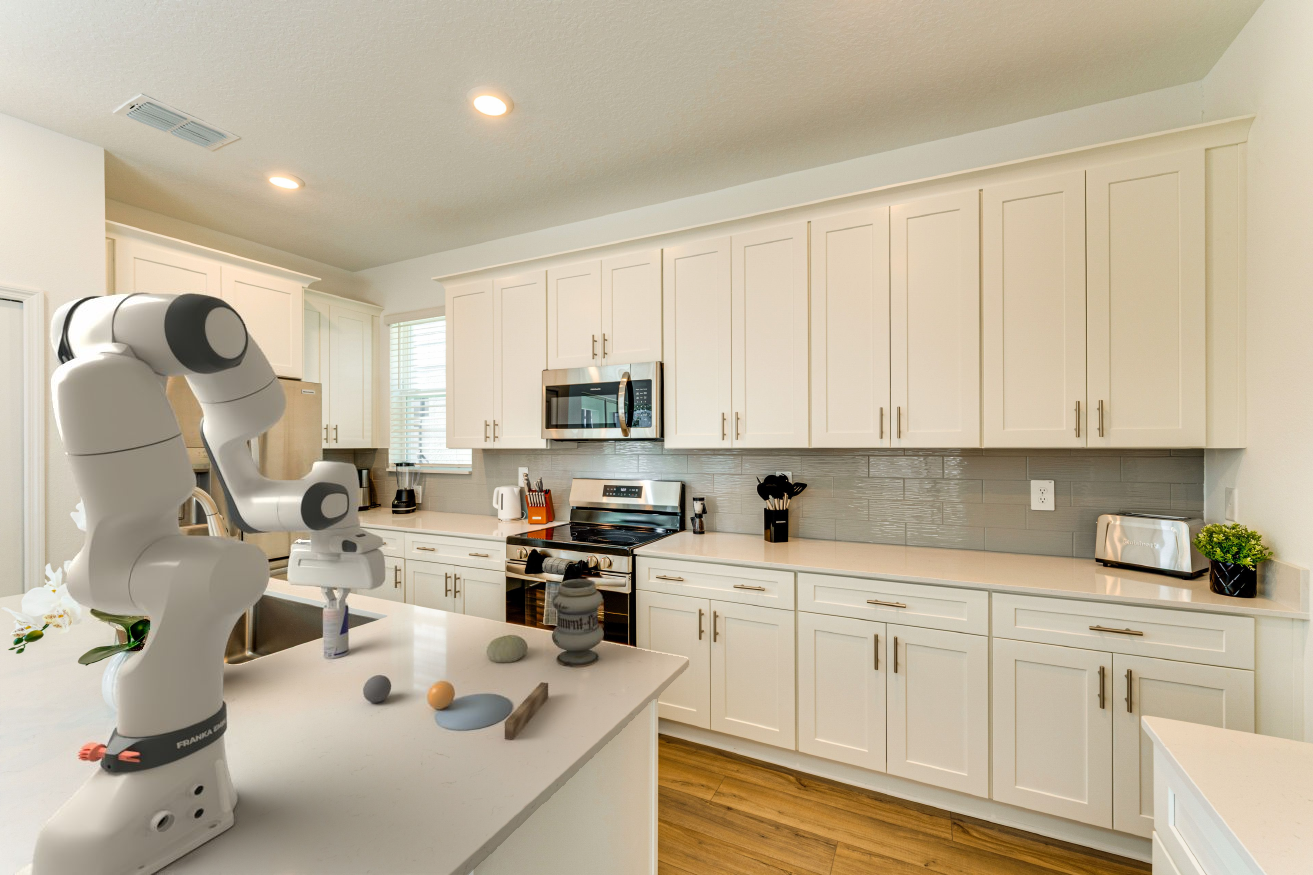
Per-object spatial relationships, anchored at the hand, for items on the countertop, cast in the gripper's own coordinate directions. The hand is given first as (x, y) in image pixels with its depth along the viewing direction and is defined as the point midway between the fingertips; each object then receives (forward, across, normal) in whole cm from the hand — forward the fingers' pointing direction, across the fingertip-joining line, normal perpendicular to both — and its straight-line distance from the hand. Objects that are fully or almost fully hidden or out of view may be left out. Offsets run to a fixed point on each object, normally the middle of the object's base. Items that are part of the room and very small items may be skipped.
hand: (336, 608), depth 114 cm
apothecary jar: (+18, +42, +28) cm, 53 cm away
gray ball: (+15, +10, 0) cm, 18 cm away
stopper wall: (+18, +42, 0) cm, 45 cm away
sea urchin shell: (+18, +25, +26) cm, 40 cm away
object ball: (+15, +24, 0) cm, 28 cm away
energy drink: (+18, -16, +19) cm, 31 cm away
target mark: (+18, +30, 0) cm, 35 cm away
